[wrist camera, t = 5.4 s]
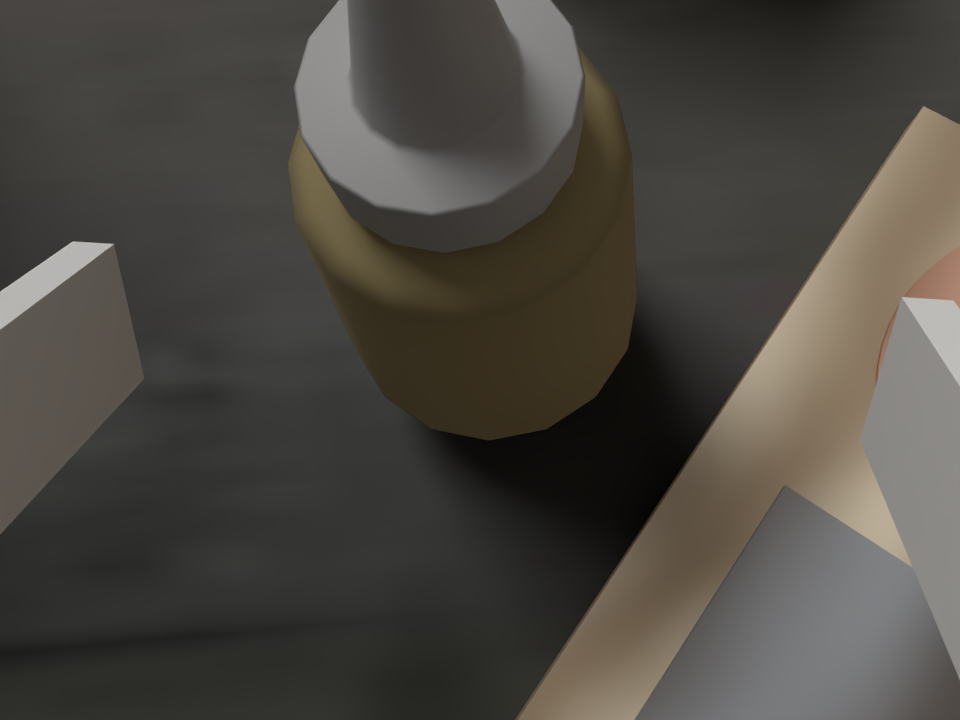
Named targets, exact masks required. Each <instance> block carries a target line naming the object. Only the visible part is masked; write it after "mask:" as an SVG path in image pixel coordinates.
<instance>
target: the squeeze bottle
mask: <svg viewBox="0 0 960 720" xmlns="http://www.w3.org/2000/svg"><path fill="white" fill-rule="evenodd" d="M294 92H295V99H296V106H297V113H298V121H299V127H298V131H297V134H296V138H295V141H294V144H293V148H292V151H291V155H290V158H289V162H288V169H289V177H290V184H291V192H292V200H293V207H294V215H295V222H296V226H297V228H298V230H299V232H300V234H301V236H302V238H303V240H304V242H305V245H306V247H307V249H308V251H309V253H310V255H311V257H312V259H313V261H314V263H315V265H316V268H317V270H318V272H319V274H320V276H321V278H322V280H323V282H324V284H325V286H326V288H327V291H328V293H329V295H330V297H331V299H332V301H333V303H334V305H335V307H336V309H337V311H338V314H339V316H340V318H341V320H342V322H343V324H344V326H345V328H346V330H347V332H348V334H349V337H350V339H351V341H352V343H353V345H354V347H355V349H356V351H357V353H358V354H359V356H360V358H361V359H362V361H363V362H364V364H365V366H366V367H367V369H368V370H369V372H370V374H371V375H372V377H373V378H374V380H375V382H376V383H377V385H378V386H379V388H380V390H381V391H382V393H383V394H384V396H385V397H386V398H387V399H389V400H390V401H391V402H393V403H394V404H396V405H397V406H399V407H400V408H402V409H403V410H405V411H406V412H408V413H409V414H410V415H412V416H413V417H415V418H416V419H418V420H419V421H421V422H422V423H424V424H425V425H427V426H428V427H429V428H431V429H434V430H439V431H444V432H449V433H454V434H459V435H464V436H469V437H474V438H478V439H483V440H488V441H489V440H494V439H499V438H504V437H509V436H515V435H520V434H525V433H530V432H535V431H540V430H546V429H548V428H549V427H551V426H552V425H554V424H555V423H557V422H558V421H560V420H561V419H563V418H565V417H566V416H568V415H569V414H571V413H572V412H574V411H575V410H577V409H578V408H580V407H581V406H583V405H584V404H586V403H587V402H589V401H590V400H592V399H593V398H595V397H596V396H597V394H598V393H599V391H600V390H601V388H602V387H603V385H604V384H605V382H606V381H607V379H608V378H609V376H610V375H611V373H612V372H613V370H614V369H615V367H616V366H617V365H618V363H619V362H620V360H621V359H622V357H623V356H624V354H625V353H626V351H627V350H628V344H629V339H630V333H631V328H632V322H633V317H634V311H635V306H636V300H637V271H636V246H635V220H634V195H633V170H632V153H631V149H630V145H629V141H628V137H627V133H626V129H625V125H624V121H623V117H622V113H621V109H620V105H619V101H618V97H617V94H616V93H615V92H614V90H613V89H612V88H611V87H610V86H609V84H608V83H607V82H606V81H605V79H604V78H603V77H602V76H601V74H600V73H599V72H598V71H597V69H596V68H595V67H594V66H593V64H592V63H591V62H590V61H589V59H588V58H587V57H586V56H585V54H584V53H583V52H582V51H581V49H580V48H579V47H578V44H577V40H576V36H575V32H574V27H573V26H572V25H571V24H570V22H569V21H568V20H567V19H566V17H565V16H564V15H563V14H562V13H561V11H560V10H559V9H558V8H557V6H556V5H555V4H554V3H553V1H552V0H339V1H338V2H337V3H336V5H335V6H334V7H333V8H332V10H331V11H330V12H329V13H328V15H327V16H326V17H325V18H324V20H323V21H322V22H321V23H320V25H319V26H318V27H317V28H316V30H315V31H314V32H313V33H312V35H311V36H310V37H309V38H308V42H307V45H306V49H305V52H304V55H303V59H302V62H301V65H300V69H299V72H298V75H297V79H296V82H295V86H294Z"/></svg>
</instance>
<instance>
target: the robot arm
mask: <svg viewBox="0 0 960 720" xmlns="http://www.w3.org/2000/svg"><path fill="white" fill-rule="evenodd" d="M143 379H144V375H143V371H142V366H141V362H140V357H139V353H138V349H137V344H136V340H135V335H134V331H133V327H132V322H131V318H130V313H129V309H128V305H127V300H126V296H125V291H124V287H123V283H122V278H121V274H120V269H119V265H118V261H117V256H116V252H115V247H114V244H102V243H88V242H71V243H70V244H69V245H67V246H66V247H64V248H63V249H61V250H60V251H58V252H57V253H56V254H54V255H53V256H51V257H50V258H48V259H47V260H45V261H44V262H42V263H41V264H40V265H38V266H37V267H35V268H34V269H32V270H31V271H29V272H28V273H27V274H25V275H24V276H22V277H21V278H19V279H18V280H16V281H15V282H14V283H12V284H11V285H9V286H8V287H6V288H5V289H3V290H2V291H1V292H0V534H1V533H2V532H3V531H4V530H5V529H6V528H7V527H8V526H9V524H10V523H11V522H12V521H13V520H14V519H15V518H16V517H17V516H18V515H19V514H20V513H21V511H22V510H23V509H24V508H25V507H26V506H27V505H28V504H29V503H30V502H31V501H32V500H33V498H34V497H35V496H36V495H37V494H38V493H39V492H40V491H41V490H42V489H43V488H44V487H45V485H46V484H47V483H48V482H49V481H50V480H51V479H52V478H53V477H54V476H55V475H56V474H57V472H58V471H59V470H60V469H61V468H62V467H63V466H64V465H65V464H66V463H67V462H68V461H69V459H70V458H71V457H72V456H73V455H74V454H75V453H76V452H77V451H78V450H79V449H80V448H81V446H82V445H83V444H84V443H85V442H86V441H87V440H88V439H89V438H90V437H91V436H92V435H93V433H94V432H95V431H96V430H97V429H98V428H99V427H100V426H101V425H102V424H103V423H104V422H105V420H106V419H107V418H108V417H109V416H110V415H111V414H112V413H113V412H114V411H115V410H116V409H117V407H118V406H119V405H120V404H121V403H122V402H123V401H124V400H125V399H126V398H127V397H128V396H129V394H130V393H131V392H132V391H133V390H134V389H135V388H136V387H137V386H138V385H139V384H140V383H141V382H142V380H143ZM860 442H861V444H862V447H863V449H864V451H865V454H866V456H867V459H868V461H869V463H870V466H871V468H872V471H873V473H874V475H875V478H876V480H877V483H878V485H879V487H880V490H881V492H882V495H883V497H884V499H885V502H886V504H887V507H888V509H889V511H890V514H891V516H892V519H893V521H894V523H895V526H896V528H897V531H898V533H899V535H900V538H901V540H902V542H903V545H904V547H905V550H906V552H907V554H908V557H909V559H910V562H911V564H912V566H913V569H914V571H915V574H916V576H917V578H918V581H919V583H920V586H921V588H922V590H923V593H924V595H925V598H926V600H927V602H928V605H929V607H930V610H931V612H932V614H933V617H934V619H935V622H936V624H937V626H938V629H939V631H940V634H941V636H942V638H943V641H944V643H945V646H946V648H947V650H948V653H949V655H950V658H951V660H952V662H953V665H954V667H955V670H956V672H957V674H958V677H959V679H960V309H959V307H958V306H957V305H956V303H955V302H954V301H953V300H938V299H923V298H909V297H902V298H901V301H900V304H899V308H898V311H897V315H896V318H895V322H894V325H893V328H892V332H891V335H890V339H889V342H888V346H887V349H886V352H885V356H884V359H883V363H882V366H881V370H880V373H879V376H878V380H877V383H876V387H875V390H874V394H873V397H872V400H871V404H870V407H869V411H868V414H867V418H866V421H865V424H864V428H863V431H862V435H861V438H860Z"/></svg>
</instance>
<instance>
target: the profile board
mask: <svg viewBox="0 0 960 720" xmlns="http://www.w3.org/2000/svg"><path fill="white" fill-rule="evenodd" d="M902 297H909V298H923V299H938V300H953V301H954V302H955V303H956V305H957V306H958V307H959V309H960V125H959V124H957V123H955V122H953V121H951V120H949V119H947V118H945V117H943V116H941V115H940V114H938V113H936V112H934V111H932V110H930V109H928V108H926V107H924V106H923V108H922V109H921V110H920V112H919V113H918V114H917V116H916V117H915V118H914V119H913V121H912V122H911V123H910V125H909V126H908V127H907V129H906V130H905V131H904V133H903V134H902V136H901V137H900V139H899V140H898V142H897V143H896V145H895V146H894V148H893V149H892V151H891V152H890V154H889V155H888V157H887V158H886V160H885V161H884V163H883V164H882V166H881V167H880V169H879V170H878V172H877V173H876V175H875V176H874V178H873V179H872V181H871V182H870V184H869V185H868V187H867V189H866V190H865V192H864V193H863V195H862V196H861V198H860V199H859V201H858V202H857V204H856V205H855V207H854V208H853V210H852V211H851V213H850V214H849V216H848V217H847V219H846V220H845V222H844V223H843V225H842V226H841V228H840V229H839V231H838V232H837V234H836V235H835V237H834V238H833V240H832V241H831V243H830V244H829V246H828V247H827V249H826V250H825V252H824V253H823V255H822V256H821V258H820V259H819V261H818V263H817V264H816V266H815V267H814V269H813V270H812V272H811V273H810V275H809V276H808V278H807V279H806V281H805V282H804V284H803V285H802V287H801V288H800V290H799V291H798V293H797V294H796V296H795V297H794V299H793V300H792V302H791V303H790V305H789V306H788V308H787V309H786V311H785V312H784V314H783V315H782V317H781V318H780V320H779V321H778V323H777V324H776V326H775V327H774V329H773V330H772V332H771V333H770V335H769V337H768V338H767V340H766V341H765V343H764V344H763V346H762V347H761V349H760V350H759V352H758V353H757V355H756V356H755V358H754V359H753V361H752V362H751V364H750V365H749V367H748V368H747V370H746V371H745V373H744V374H743V376H742V377H741V379H740V380H739V382H738V383H737V385H736V386H735V388H734V389H733V391H732V392H731V394H730V395H729V397H728V398H727V400H726V401H725V403H724V404H723V406H722V407H721V409H720V411H719V412H718V414H717V415H716V417H715V418H714V420H713V421H712V423H711V424H710V426H709V427H708V429H707V430H706V432H705V433H704V435H703V436H702V438H701V439H700V441H699V442H698V444H697V445H696V447H695V448H694V450H693V451H692V453H691V454H690V456H689V457H688V459H687V460H686V462H685V463H684V465H683V466H682V468H681V469H680V471H679V472H678V474H677V475H676V477H675V478H674V480H673V482H672V483H671V485H670V486H669V488H668V489H667V491H666V492H665V494H664V495H663V497H662V498H661V500H660V501H659V503H658V504H657V506H656V507H655V509H654V510H653V512H652V513H651V515H650V516H649V518H648V519H647V521H646V522H645V524H644V525H643V527H642V528H641V530H640V531H639V533H638V534H637V536H636V537H635V539H634V540H633V542H632V543H631V545H630V546H629V548H628V549H627V551H626V552H625V554H624V556H623V557H622V559H621V560H620V562H619V563H618V565H617V566H616V568H615V569H614V571H613V572H612V574H611V575H610V577H609V578H608V580H607V581H606V583H605V584H604V586H603V587H602V589H601V590H600V592H599V593H598V595H597V596H596V598H595V599H594V601H593V602H592V604H591V605H590V607H589V608H588V610H587V611H586V613H585V614H584V616H583V617H582V619H581V620H580V622H579V623H578V625H577V626H576V628H575V630H574V631H573V633H572V634H571V636H570V637H569V639H568V640H567V642H566V643H565V645H564V646H563V648H562V649H561V651H560V652H559V654H558V655H557V657H556V658H555V660H554V661H553V663H552V664H551V666H550V667H549V669H548V670H547V672H546V673H545V675H544V676H543V678H542V679H541V681H540V682H539V684H538V685H537V687H536V688H535V690H534V691H533V693H532V694H531V696H530V697H529V699H528V700H527V702H526V704H525V705H524V707H523V708H522V710H521V711H520V713H519V714H518V716H517V717H516V719H515V720H960V679H959V677H958V674H957V672H956V670H955V667H954V665H953V662H952V660H951V658H950V655H949V653H948V650H947V648H946V646H945V643H944V641H943V638H942V636H941V634H940V631H939V629H938V626H937V624H936V622H935V619H934V617H933V614H932V612H931V610H930V607H929V605H928V602H927V600H926V598H925V595H924V593H923V590H922V588H921V586H920V583H919V581H918V578H917V576H916V574H915V571H914V569H913V566H912V564H911V562H910V559H909V557H908V554H907V552H906V550H905V547H904V545H903V542H902V540H901V538H900V535H899V533H898V531H897V528H896V526H895V523H894V521H893V519H892V516H891V514H890V511H889V509H888V507H887V504H886V502H885V499H884V497H883V495H882V492H881V490H880V487H879V485H878V483H877V480H876V478H875V475H874V473H873V471H872V468H871V466H870V463H869V461H868V459H867V456H866V454H865V451H864V449H863V447H862V444H861V442H860V438H861V435H862V431H863V428H864V424H865V421H866V418H867V414H868V411H869V407H870V404H871V400H872V397H873V394H874V390H875V387H876V383H877V380H878V376H879V373H880V370H881V366H882V363H883V359H884V356H885V352H886V349H887V346H888V342H889V339H890V335H891V332H892V328H893V325H894V322H895V318H896V315H897V311H898V308H899V304H900V301H901V298H902Z"/></svg>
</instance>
